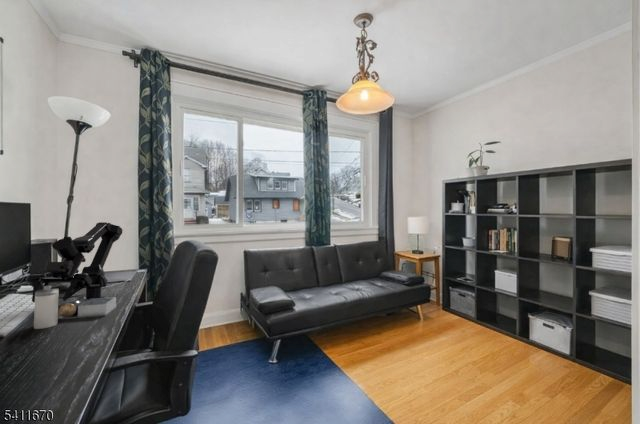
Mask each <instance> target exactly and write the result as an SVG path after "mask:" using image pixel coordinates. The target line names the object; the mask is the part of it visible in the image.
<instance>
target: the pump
mask: <svg viewBox="0 0 640 424" xmlns="http://www.w3.org/2000/svg"><path fill="white" fill-rule="evenodd" d="M51 287H52V286H51V285H48V286H44V289H43V290H39V291H36V292H35V302H34V311H33V313H34V314H33V317H34V318H33V329H35V330H40V329H41V330H42V329H46V328H47V329H48V328H51V327H54V326H56V325H57V324H58V323H59V322H58V321H59V320H58V317H59V295H60V294H59V292H60V290H59V288H54V287H52V288H51Z"/></svg>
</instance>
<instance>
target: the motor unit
mask: <svg viewBox="0 0 640 424" xmlns="http://www.w3.org/2000/svg"><path fill="white" fill-rule="evenodd" d="M115 309H117V297H116V296H113V297H105V298H93V299H89V300H87V298H86V296H77V297H75V298H74V299H72V300H70V301H68V302H66V303H64V304H62V305H61V306H60V307H58V315H59V316H58V321H59V320H69V319H70V320H71V319H83V318H95V317H107V316H108V315H109V314H110V313H112V311H114V310H115Z"/></svg>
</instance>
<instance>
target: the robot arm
mask: <svg viewBox="0 0 640 424" xmlns="http://www.w3.org/2000/svg"><path fill="white" fill-rule="evenodd" d="M122 234H123V228H122V227H121V225H115V224H112V223H111V222H109V221H108V222H107V221H105V222H100V221H99V222H97V223H96V224H95V226H94V227H93V228H91V229H90V230H89V231H88V232H87V233H86V234H84V235H82V236H78V237H76V238H74V239H73V238H72V237H71V236H63V238H61V239H58V240H56V241H55V242H53V243H52V246H51V247H52V249H53V250H54V251H55V252H56V253H57V255H58V256H59V257H60V258H61V259H63V260H62V261H47V262H46V264H45V268H44V272H49V274H48V275H49V276H50V277H46V275H44V273H43V274H42V273H41V274H40V273H39V274H30V275H28V276H27V278H26V279H25V282H27V283H28V285H30V286H31V288H32V289H33V290H32V297H31V302H32V303H35V292H36V291H39V290H43V289H44V286H49V284H69V287H68V288H67V290H66V292H65V293H64V295H63V297H62V301H63V302H65V301H67V300H68V299H69V298H71V297H73V296H74V295H75V294H76V293H78V292H80V291H81V290H83V289H85V298H87V300H89V299H93V298H106V297H105V296H104V295H103V296H102V291H103V290H102V289H103V288H105V287H107V285H108V279H107V278H106V276H105V270H104V266H105V264H106V262H107V259H108V256H109V254H110V251H111V249H112V246H113V244H114V243H115V242H116V241H118V240H119V239H120V237H121V236H122ZM100 238H101V241H100V242H99V245H98V247H97V250H96V251H95V254H94V257H93V259H92V261H91V263H90V265H89V266H84V267H82V271H81V273H80V271H79V267H80V265H81V264H82V263H86V261H87V260H86V258H85V255H84V254H89V253H92V251H93V250H94V248H95V247H96V246H95V243H96V242H97V241H98V240H99V239H100ZM51 276H52V277H51Z"/></svg>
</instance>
